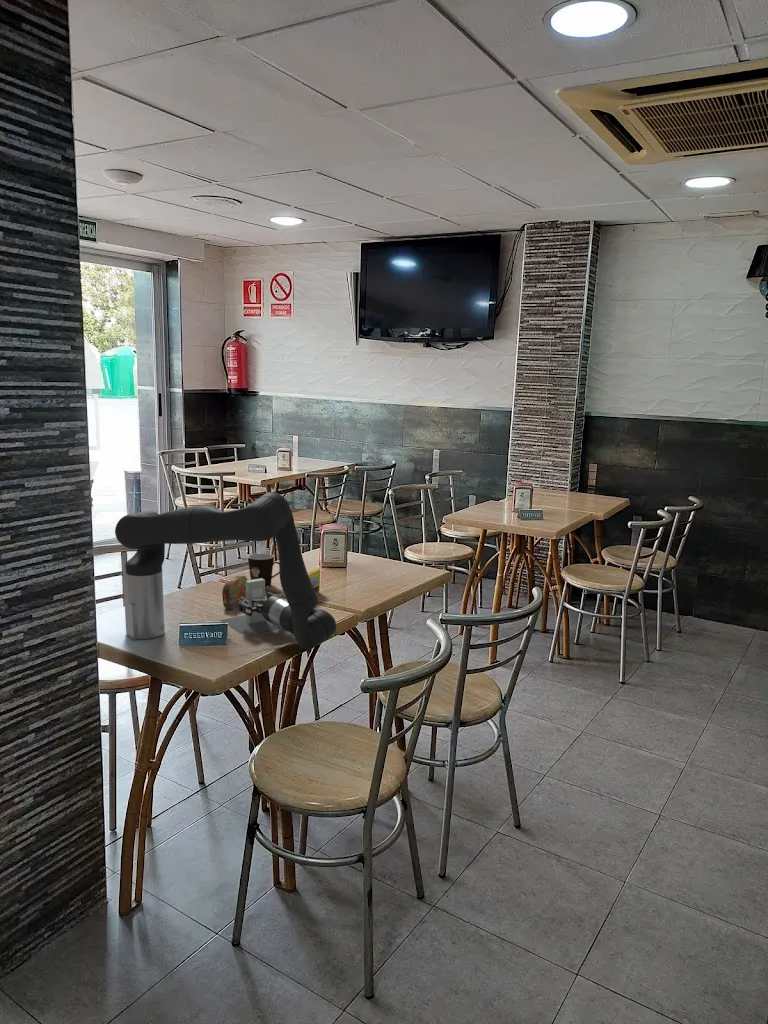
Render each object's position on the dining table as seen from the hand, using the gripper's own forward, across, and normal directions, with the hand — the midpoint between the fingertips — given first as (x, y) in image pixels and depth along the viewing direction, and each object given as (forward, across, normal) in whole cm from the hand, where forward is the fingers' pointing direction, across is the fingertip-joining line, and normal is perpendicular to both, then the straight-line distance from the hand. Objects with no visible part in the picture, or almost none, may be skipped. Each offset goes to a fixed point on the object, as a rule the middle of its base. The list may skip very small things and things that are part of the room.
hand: (253, 598), depth 206 cm
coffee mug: (+32, -20, +8) cm, 38 cm away
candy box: (+11, -24, +8) cm, 28 cm away
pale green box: (-1, 0, +7) cm, 7 cm away
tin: (+18, -3, +8) cm, 20 cm away
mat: (-2, -5, +7) cm, 9 cm away
